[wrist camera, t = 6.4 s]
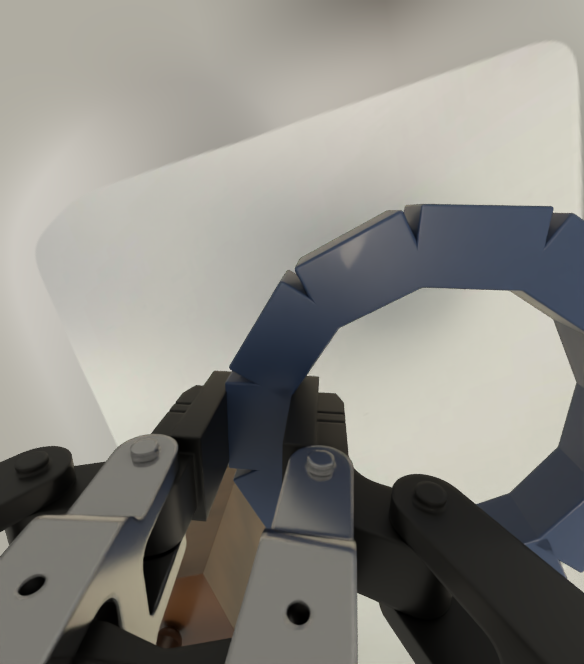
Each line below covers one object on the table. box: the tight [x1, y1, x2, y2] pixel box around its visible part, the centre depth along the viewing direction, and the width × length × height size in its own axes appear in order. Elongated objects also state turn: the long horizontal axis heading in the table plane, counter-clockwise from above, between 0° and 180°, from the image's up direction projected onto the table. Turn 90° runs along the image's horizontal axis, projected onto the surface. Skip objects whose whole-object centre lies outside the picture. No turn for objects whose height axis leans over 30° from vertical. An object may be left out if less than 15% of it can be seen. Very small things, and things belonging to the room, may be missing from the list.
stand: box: [156, 466, 266, 648], centre depth 33 cm, size 10×10×22 cm
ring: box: [225, 204, 584, 579], centre depth 10 cm, size 12×12×2 cm
